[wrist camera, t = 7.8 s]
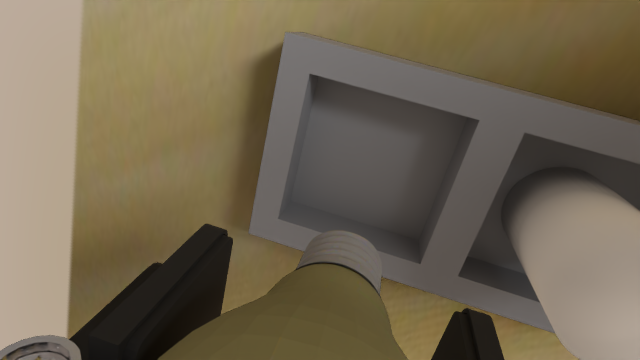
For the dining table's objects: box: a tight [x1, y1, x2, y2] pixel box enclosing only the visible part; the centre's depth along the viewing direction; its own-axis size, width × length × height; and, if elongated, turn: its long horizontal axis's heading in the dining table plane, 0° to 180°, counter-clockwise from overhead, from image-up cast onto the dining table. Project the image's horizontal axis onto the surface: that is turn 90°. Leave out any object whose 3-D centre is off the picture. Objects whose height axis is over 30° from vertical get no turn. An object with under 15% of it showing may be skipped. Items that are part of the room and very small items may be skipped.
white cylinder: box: [501, 167, 640, 360], centre depth 17 cm, size 5×5×8 cm
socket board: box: [249, 32, 640, 334], centre depth 20 cm, size 21×11×3 cm, turn 76°
